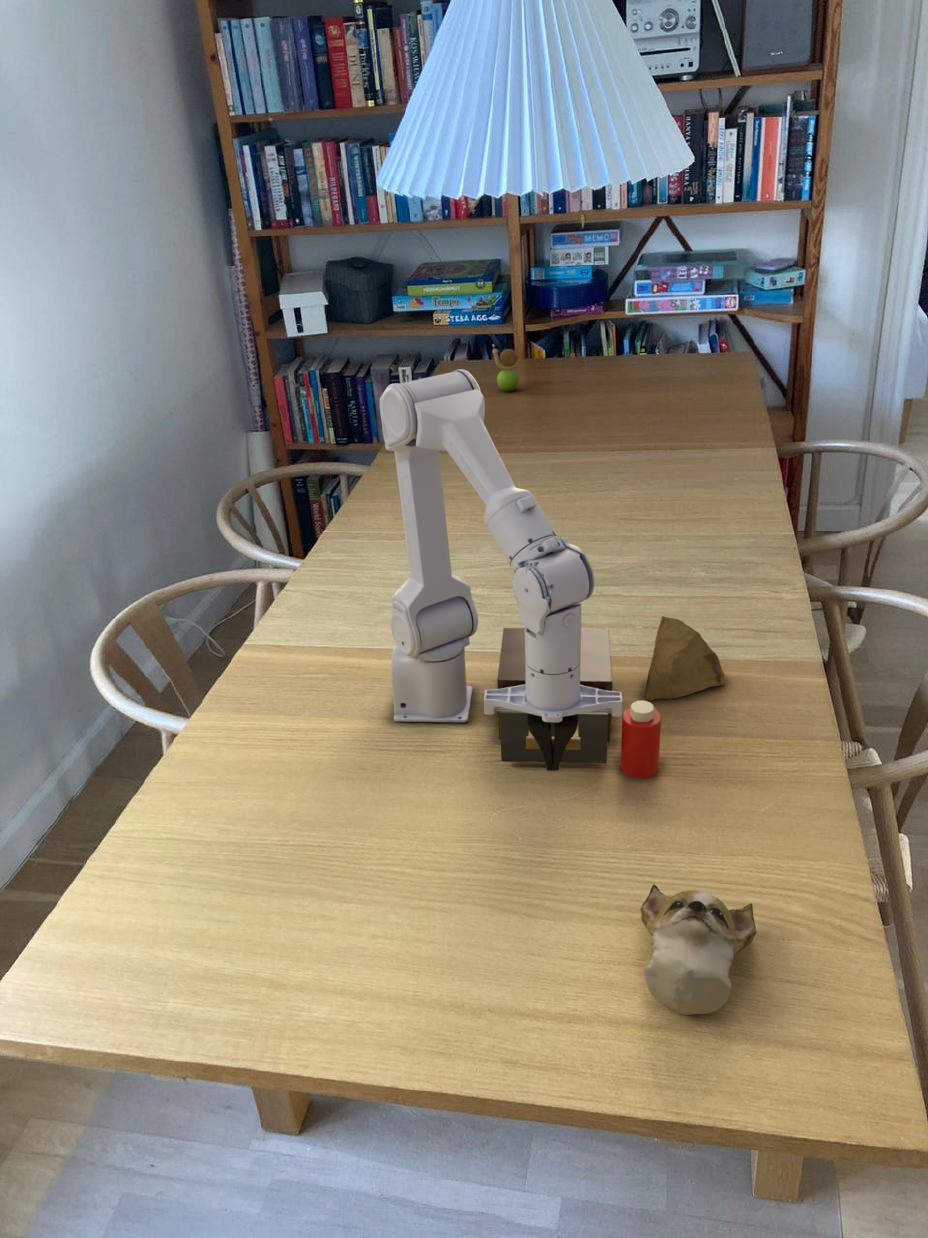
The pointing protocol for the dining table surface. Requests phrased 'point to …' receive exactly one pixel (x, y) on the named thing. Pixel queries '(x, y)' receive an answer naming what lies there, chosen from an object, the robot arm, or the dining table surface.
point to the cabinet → (591, 664)
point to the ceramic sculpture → (693, 948)
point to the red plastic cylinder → (640, 740)
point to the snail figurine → (506, 369)
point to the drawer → (580, 748)
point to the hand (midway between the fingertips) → (552, 765)
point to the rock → (681, 662)
